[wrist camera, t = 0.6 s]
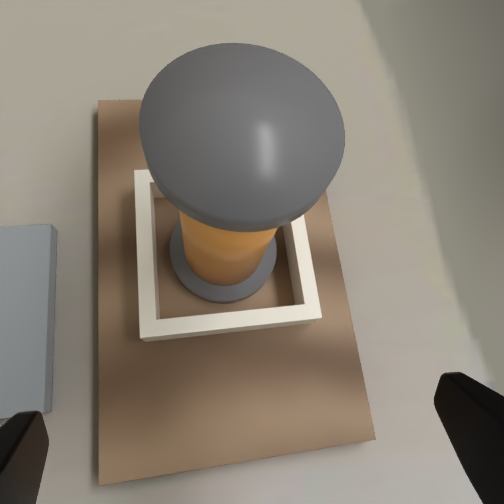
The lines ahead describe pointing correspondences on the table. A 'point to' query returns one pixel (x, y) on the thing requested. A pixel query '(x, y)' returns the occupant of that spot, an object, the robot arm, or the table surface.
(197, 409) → the walnut board
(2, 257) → the grey mat
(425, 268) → the table surface
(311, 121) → the orange cylinder grey ends
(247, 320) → the white square frame
